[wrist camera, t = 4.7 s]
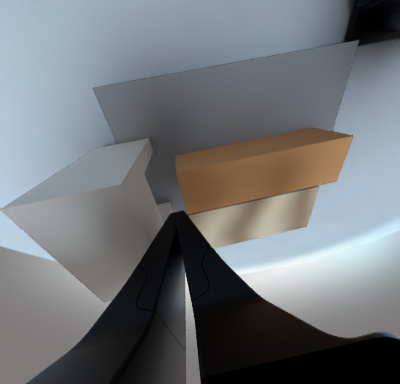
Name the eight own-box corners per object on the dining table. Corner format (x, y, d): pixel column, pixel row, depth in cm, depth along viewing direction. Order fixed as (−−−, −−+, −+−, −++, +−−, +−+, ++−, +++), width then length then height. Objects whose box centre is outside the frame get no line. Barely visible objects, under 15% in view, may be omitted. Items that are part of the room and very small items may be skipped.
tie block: (148, 138, 11) (120, 184, 5) (172, 209, 15) (172, 286, 9) (94, 148, 11) (0, 209, 5) (132, 218, 15) (103, 302, 9)
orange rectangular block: (312, 127, 13) (353, 135, 10) (304, 165, 15) (336, 181, 12) (175, 155, 13) (175, 172, 10) (184, 190, 14) (187, 214, 11)
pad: (316, 184, 17) (319, 186, 16) (304, 224, 20) (306, 226, 19) (170, 217, 16) (170, 219, 15) (183, 252, 19) (183, 255, 19)
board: (345, 44, 11) (359, 39, 10) (298, 221, 21) (303, 227, 20) (98, 88, 10) (92, 88, 10) (168, 251, 20) (168, 258, 19)
